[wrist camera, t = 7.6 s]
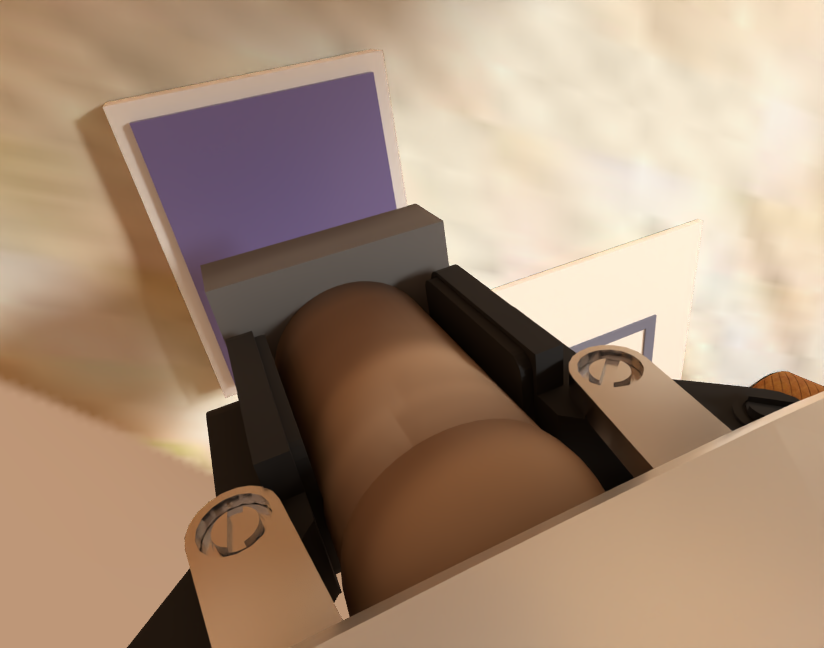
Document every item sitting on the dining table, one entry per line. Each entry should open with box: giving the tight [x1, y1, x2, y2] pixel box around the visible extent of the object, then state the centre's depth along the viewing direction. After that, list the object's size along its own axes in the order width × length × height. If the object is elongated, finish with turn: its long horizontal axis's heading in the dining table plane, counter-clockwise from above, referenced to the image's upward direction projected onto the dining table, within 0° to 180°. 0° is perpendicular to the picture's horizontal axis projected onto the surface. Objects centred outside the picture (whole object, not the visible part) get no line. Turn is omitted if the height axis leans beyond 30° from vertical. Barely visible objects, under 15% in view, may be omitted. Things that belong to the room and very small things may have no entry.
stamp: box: [200, 204, 605, 617], centre depth 10 cm, size 5×5×9 cm
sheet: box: [491, 219, 703, 380], centre depth 29 cm, size 18×14×1 cm
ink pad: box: [103, 49, 407, 398], centre depth 18 cm, size 10×8×2 cm
